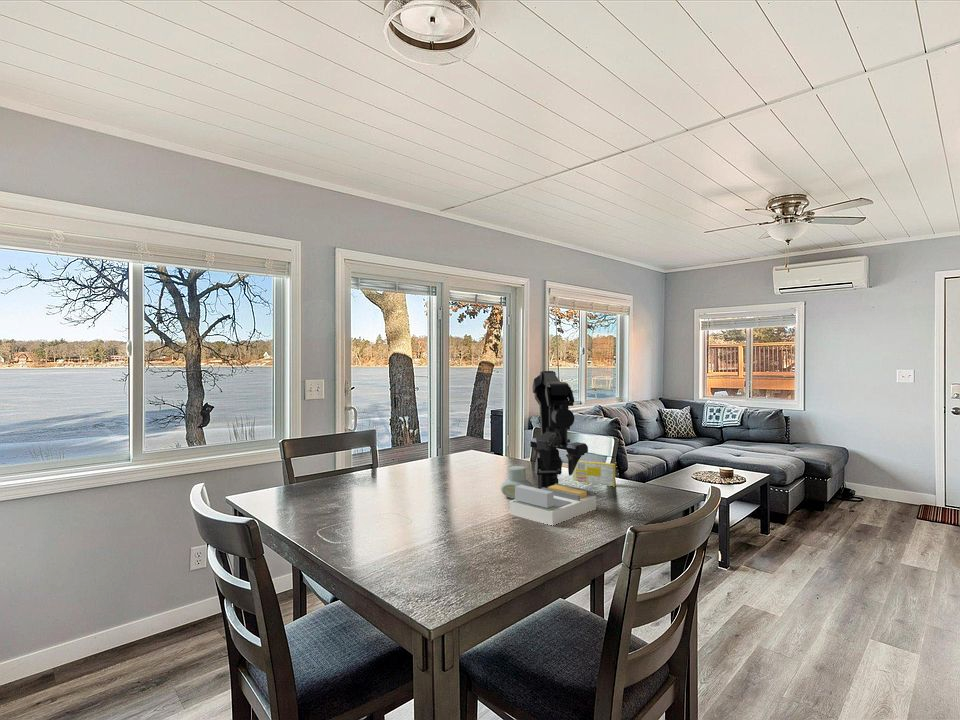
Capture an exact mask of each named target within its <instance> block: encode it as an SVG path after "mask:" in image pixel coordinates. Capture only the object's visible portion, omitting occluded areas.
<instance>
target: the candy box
mask: <svg viewBox="0 0 960 720" xmlns="http://www.w3.org/2000/svg"><path fill="white" fill-rule="evenodd" d="M571 478H572V481H578V482H585V483H592V484H591V485H593V484H601V485H607V486H606V487H610V486H613V487H612V488H615V487H616V463H609V462H608V463H607V462H598V461H588V460H587V461H586V460H579V461H578V463H577V465H576V467H575V469H574V471H573V474H572V475H571ZM585 483H584V484H585ZM601 485H600V486H601Z"/></svg>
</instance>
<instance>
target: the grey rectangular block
mask: <svg viewBox="0 0 960 720" xmlns="http://www.w3.org/2000/svg"><path fill="white" fill-rule="evenodd" d="M515 500H517V501H521V502H525V503H529V504H533V505H537V506H541V507H545V508H549V507H552V506H554V492H552V491H547V490H543V489H538V487H535V486H533V487H529V486H525V485H519V486H515Z"/></svg>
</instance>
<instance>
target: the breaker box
mask: <svg viewBox="0 0 960 720" xmlns="http://www.w3.org/2000/svg"><path fill="white" fill-rule="evenodd" d="M555 485H559V486H564V487H569V488H574V489H578V490H583V491H587V496H585V497H583V498H580V495H576V494H572V493H567V492H562V491H558V490H553V489H549V488H544V487H543V488H541V489H543V490H547V491H552V492H554V506H552V507H549V508H545V507H541V506H537V505H533V504H529V503H525V502H521V501H517V500H515V499H511V500H509V515H511V516H515V517H518V518H522V519H526V520H528V521H529V520H530V521H533V522H536V523H539V522H540V523H541V524H543V523H544V525H547V524H548V526H550V525H552V526H551V527H554V526H557V525H559V524H562V523H564V522H563V521H565V522H567V521H569V520H568V519H570V520H572V519H574V518H573V517H575V518H577V517H580V516H582V515H581V514H583V515H585V514H587V512H588V513H590V512H592V510H593V511H595V510H597V496H596V495H594V490H590V489H584V488H580V487H576V486H571V485H570V486H569V485H566V484H561V483H558V484H557V483H556V484H555ZM589 511H590V512H589ZM584 513H585V514H584ZM579 515H580V516H579ZM576 516H577V517H576ZM571 518H572V519H571ZM566 520H567V521H566ZM561 522H562V523H561ZM558 523H559V524H558ZM556 524H557V525H556ZM553 525H554V526H553Z"/></svg>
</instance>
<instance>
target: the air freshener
mask: <svg viewBox="0 0 960 720" xmlns="http://www.w3.org/2000/svg"><path fill="white" fill-rule="evenodd" d="M526 472H527V471H526V467H525V466H522V465H521V466H520V465H512V466H509V467H508V469H507V478H508V479H506V480H504V481H502V483H501V485H500V491H501V493H502V495H504V496H505V497H506V498H509V499H511V500H514V499H515V486H519V485H525V486H529V487H534V485H533V484H532V482H530V481H529V480H528V479H527V478H526V477H527V476H526V475H527V473H526Z"/></svg>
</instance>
